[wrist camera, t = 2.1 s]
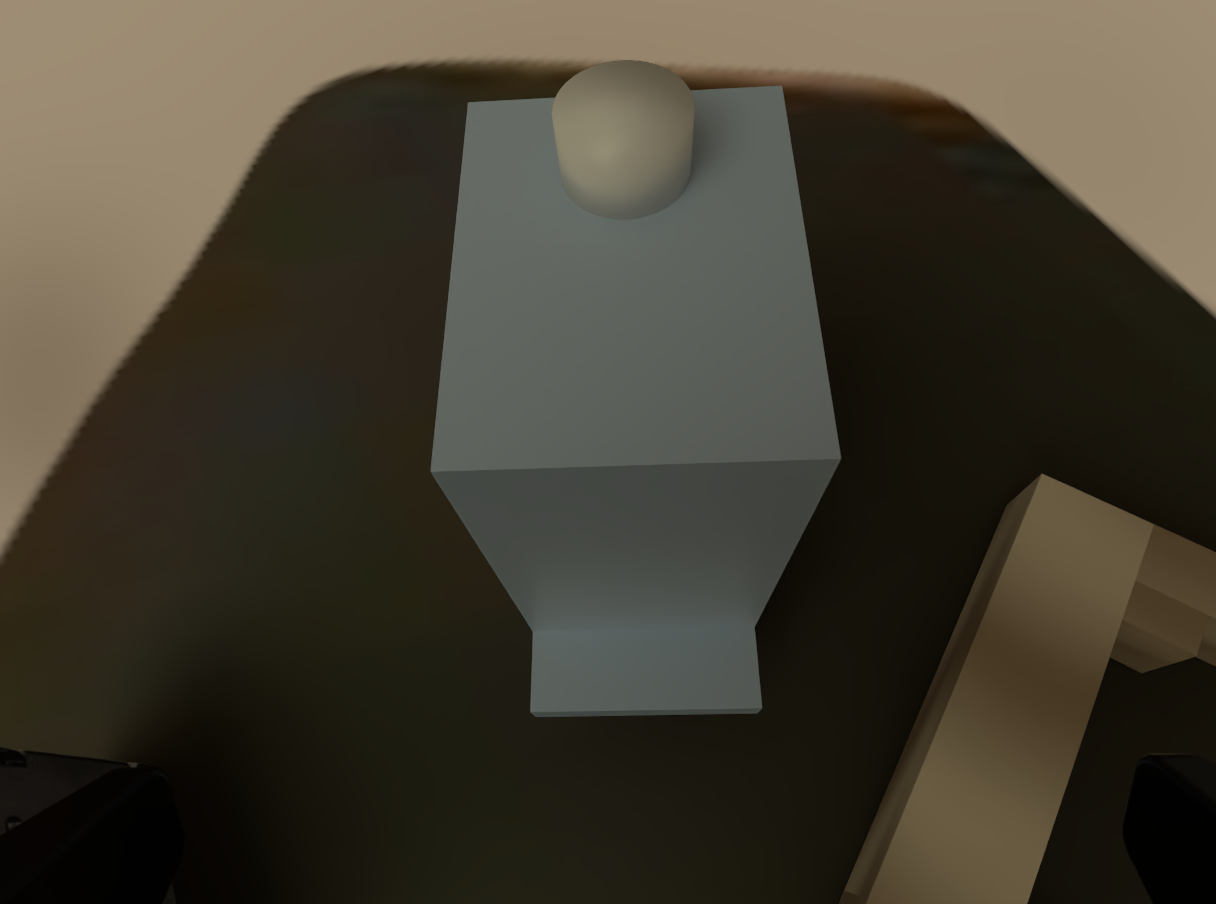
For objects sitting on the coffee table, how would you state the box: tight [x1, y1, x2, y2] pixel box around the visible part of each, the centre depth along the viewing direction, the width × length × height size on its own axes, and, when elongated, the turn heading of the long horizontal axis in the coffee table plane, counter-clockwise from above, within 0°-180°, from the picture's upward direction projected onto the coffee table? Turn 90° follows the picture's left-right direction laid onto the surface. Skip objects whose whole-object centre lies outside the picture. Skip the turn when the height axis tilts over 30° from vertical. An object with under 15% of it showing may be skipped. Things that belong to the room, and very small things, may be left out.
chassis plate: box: [839, 474, 1216, 904], centre depth 15 cm, size 13×12×2 cm
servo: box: [431, 60, 841, 717], centre depth 14 cm, size 9×5×12 cm, turn 1°
